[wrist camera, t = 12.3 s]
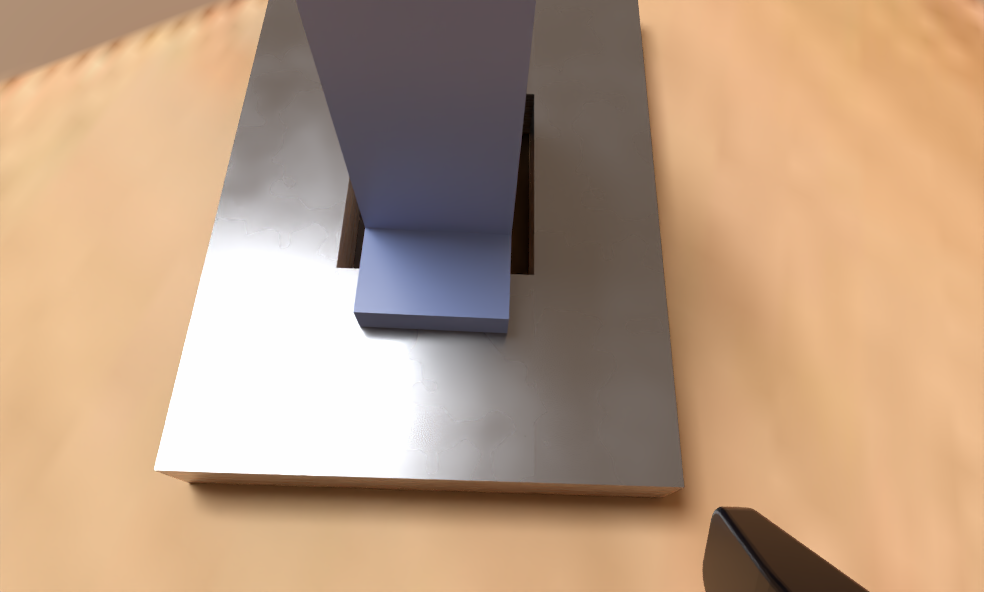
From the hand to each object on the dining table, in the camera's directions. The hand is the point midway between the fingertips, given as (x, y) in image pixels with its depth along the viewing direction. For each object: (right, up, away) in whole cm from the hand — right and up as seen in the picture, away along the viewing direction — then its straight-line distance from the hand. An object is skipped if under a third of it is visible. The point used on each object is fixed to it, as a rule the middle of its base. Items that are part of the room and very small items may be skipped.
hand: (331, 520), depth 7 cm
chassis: (0, +6, +14) cm, 15 cm away
